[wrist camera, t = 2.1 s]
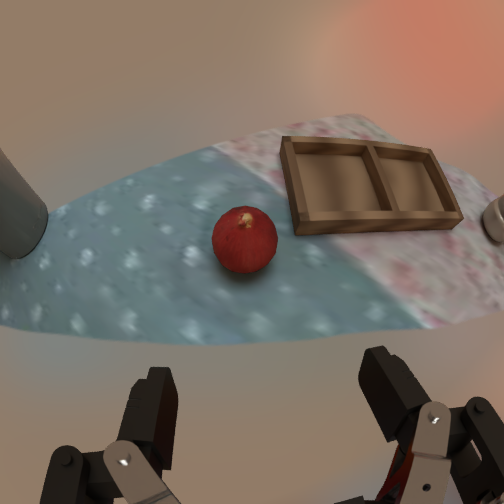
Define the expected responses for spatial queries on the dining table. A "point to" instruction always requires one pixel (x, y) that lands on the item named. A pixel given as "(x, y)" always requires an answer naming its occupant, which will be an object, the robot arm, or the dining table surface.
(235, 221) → the pomegranate
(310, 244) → the dining table surface
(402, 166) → the walnut tray
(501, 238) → the plastic bottle
